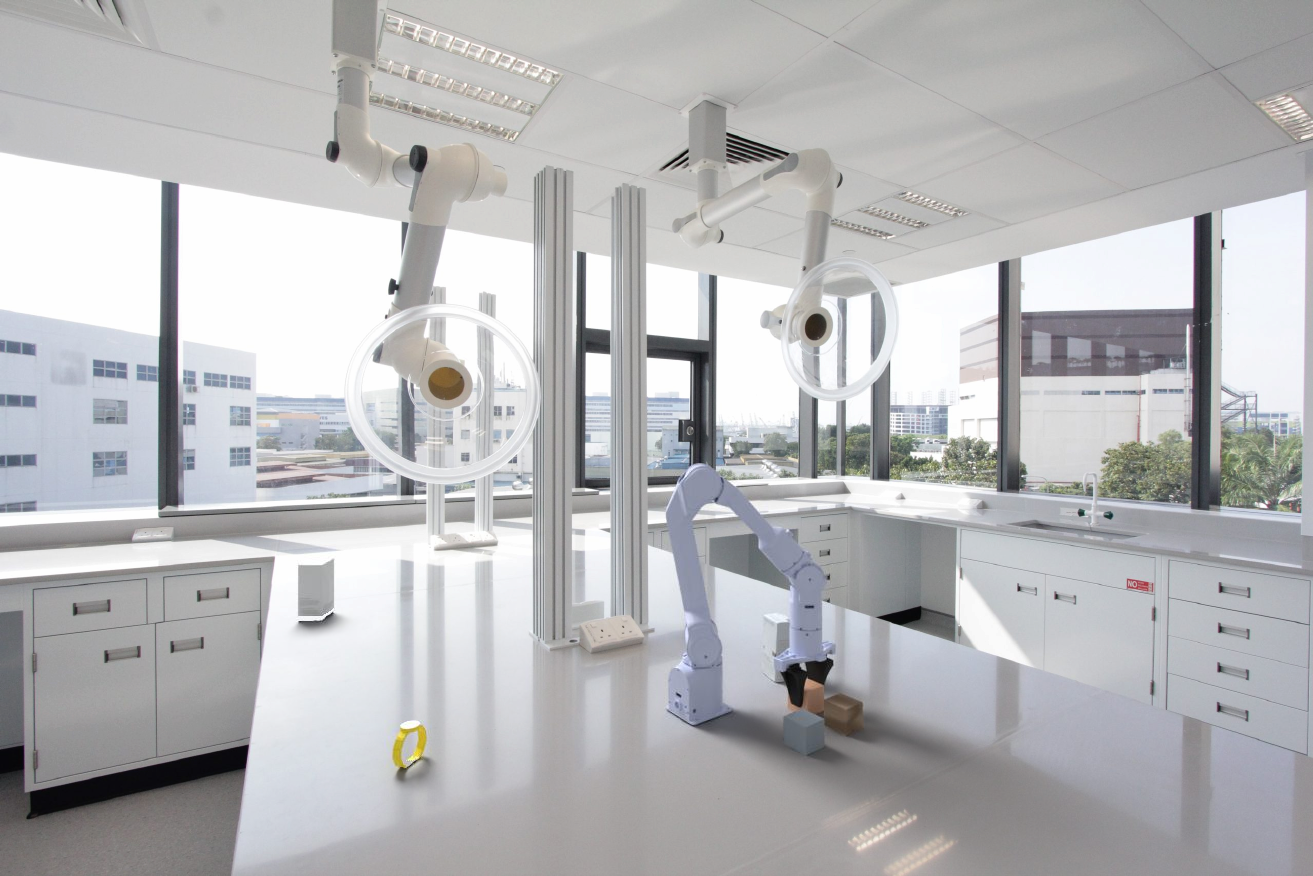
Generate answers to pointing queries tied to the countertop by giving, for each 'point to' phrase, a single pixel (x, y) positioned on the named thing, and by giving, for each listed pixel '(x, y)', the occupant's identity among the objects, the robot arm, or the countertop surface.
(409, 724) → the watch
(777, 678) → the skincare box
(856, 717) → the walnut block
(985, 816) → the countertop surface
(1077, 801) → the countertop surface
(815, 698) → the terracotta block
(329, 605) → the skincare box
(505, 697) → the countertop surface
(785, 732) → the slate block
